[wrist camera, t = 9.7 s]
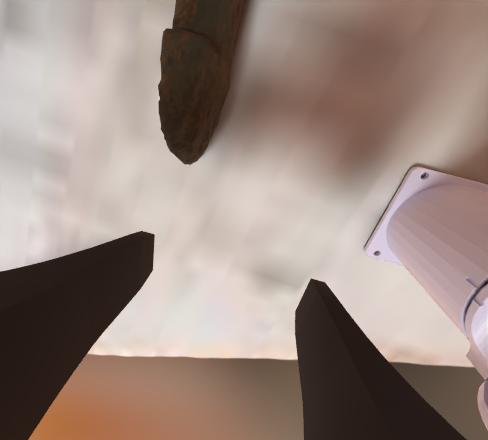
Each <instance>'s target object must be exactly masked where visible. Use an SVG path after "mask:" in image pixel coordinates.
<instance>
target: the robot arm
mask: <svg viewBox="0 0 488 440" xmlns="http://www.w3.org/2000/svg"><path fill="white" fill-rule="evenodd" d="M423 173H426V175H425V177H424V178H421V175H422V174H423ZM154 236H155V235H154V234H151V233H147V232H143V231H140V232H136V233H133V234H130V235H127V236H124V237H121V238H118V239H115V240H113V241H110V242H107V243H104V244H101V245H98V246H95V247H92V248H89V249H86V250H82V251H79V252H76V253H72V254H69V255H66V256H63V257H59V258H56V259H52V260H49V261H45V262H41V263H37V264H33V265H29V266H24V267H20V268H16V269H11V270H7V271H2V272H0V440H28V439H29V437H30V436H31V434H32V433H33V431H34V430H35V428H36V427H37V425H38V424H39V422H40V421H41V419H42V418H43V416H44V415H45V413H46V412H47V410H48V409H49V407H50V405H51V404H52V403H53V401H54V400H55V398H56V397H57V395H58V394H59V392H60V391H61V389H62V388H63V387H64V385H65V384H66V382H67V381H68V379H69V378H70V376H71V375H72V373H73V372H74V370H75V369H76V368H77V367H78V365H79V364H80V362H81V361H82V359H83V358H84V357H85V355H86V354H87V353H88V351H89V350H90V349H91V347H92V346H93V344H94V343H95V342H96V341H97V339H98V338H99V337H100V336H101V334H102V333H103V332H104V331H105V330H106V329H107V327H108V326H109V325H110V324H111V323H112V322H113V320H114V319H115V318H116V317H117V316H118V315H119V314H120V312H121V311H122V310H123V309H124V308H125V307H126V305H127V304H128V303H129V302H130V301H131V300H132V298H133V297H134V296H135V295H136V294H137V292H138V291H139V290H140V289H141V287H142V286H143V284H144V283H145V281H146V280H147V278H148V277H149V275H150V274H151V272H152V271H153V255H154ZM375 251H379V252H378V253H376V254H374V252H375ZM364 252H365V254H366V255H367V256H370V257H373V258H377V259H380V260H384V261H387V262H391V263H394V264H398V265H401V266H404V267H405V268H406V269H407V270H408V271H409V272H410V273H411V275H412V276H413V277H414V278H415V279H416V280H417V281H418V283H419V284H420V285H421V286H422V287H423V288H424V289H425V291H426V292H427V293H428V294H429V295H430V296H431V297H432V299H433V300H434V301H435V302H436V303H437V304H438V305H439V307H440V308H441V309H442V310H443V311H444V312H445V313H446V315H447V316H448V317H449V318H450V319H451V320H452V321H453V323H454V324H455V325H456V326H457V327H458V328H459V329H460V331H461V332H462V333H463V334H464V335H465V336H466V337H467V339H468V340H469V341H470V350H469V352H468V353H467V355H466V357H467V358H468V359H469V360H470V362H471V363H472V364H473V365H474V367H475V368H476V369H477V370H478V372H479V373H480V374H481V375H482V376H483V378H484V379H485V380H486V381H485V382H484V383H483V384H482V385H481V387H480V388H479V392H478V407H479V410H480V414H481V417H482V419H483V421H484V424H485V426H486V428H487V430H488V184H484V183H480V182H476V181H473V180H469V179H465V178H461V177H457V176H453V175H449V174H445V173H442V172H438V171H434V170H430V169H426V168H422V167H413V168H412V169H410V170H409V172H408V174H407V175H406V177H405V179H404V180H403V182H402V184H401V186H400V187H399V189H398V191H397V193H396V194H395V196H394V198H393V200H392V201H391V203H390V205H389V206H388V208H387V210H386V212H385V213H384V215H383V217H382V219H381V220H380V222H379V224H378V226H377V227H376V229H375V231H374V233H373V234H372V236H371V238H370V239H369V241H368V243H367V245H366V246H365V248H364ZM295 336H296V346H297V355H298V363H299V372H300V381H301V389H302V400H303V417H304V440H466V439H465V438H464V437H463V436H462V435H461V434H460V433H459V432H458V431H456V430H455V429H454V428H453V427H452V426H451V425H450V424H449V423H448V422H447V421H446V420H445V419H444V418H443V417H442V416H441V415H440V414H439V413H438V412H437V411H436V410H435V409H434V408H433V407H431V406H430V405H429V404H428V403H427V402H426V401H425V400H424V399H423V398H422V397H421V396H420V395H419V394H418V393H417V392H416V391H415V390H414V389H413V388H412V387H411V385H409V383H408V382H407V381H406V380H405V379H404V378H403V377H402V376H401V375H400V374H399V373H398V372H397V371H396V370H395V368H394V367H393V366H392V365H391V364H390V363H389V362H388V361H387V360H386V359H385V357H384V356H383V355H382V354H381V353H380V352H379V351H378V349H377V348H376V347H375V346H374V345H373V343H372V342H371V341H370V340H369V339H368V338H367V336H366V335H365V334H364V333H363V331H362V330H361V329H360V328H359V326H358V325H357V324H356V323H355V321H354V320H353V319H352V317H351V316H350V315H349V313H348V312H347V311H346V309H345V308H344V307H343V305H342V304H341V303H340V301H339V300H338V299H337V297H336V296H335V295H334V293H333V292H332V291H331V290H330V288H329V287H328V286H327V285H326V283H325V282H322V281H318V280H314V279H311V280H310V282H309V284H308V286H307V288H306V290H305V292H304V294H303V296H302V299H301V301H300V303H299V305H298V307H297V309H296V311H295Z"/></svg>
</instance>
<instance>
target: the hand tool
mask: <svg viewBox="0 0 488 440" xmlns="http://www.w3.org/2000/svg"><path fill="white" fill-rule="evenodd" d="M244 3H245V0H176V6H175V14H174V19H173V27H172V29H166V30H165V31H164V32H163V39H162V51H161V58H160V60H161V81H160V83H159V85H158V89H159V96H160V100H159V115H160V121H161V130H162V132H163V134H164V139H165V140H166V143H167V146H168V148H169V150H170V151H171V152H172V153H173V154H174V155H175V156H176V157H177V158H178V159H180V160H181V161H182V162H183V163H184V164H189V165H190V164H192V163H194V162H196V161H198V159H199V158H200V157H201V156H202V154H203V152H204V150H205V149H206V147H207V145H208V142H209V140H210V138H211V136H212V133H213V130H214V128H215V127H216V125H217V122H218V119H219V115H220V111H221V108H222V106H223V104H224V101H225V98H226V95H227V92H228V90H229V87H230V67H231V59H232V55H233V50H234V46H235V41H236V37H237V33H238V28H239V24H240V20H241V16H242V12H243V7H244Z"/></svg>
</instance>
